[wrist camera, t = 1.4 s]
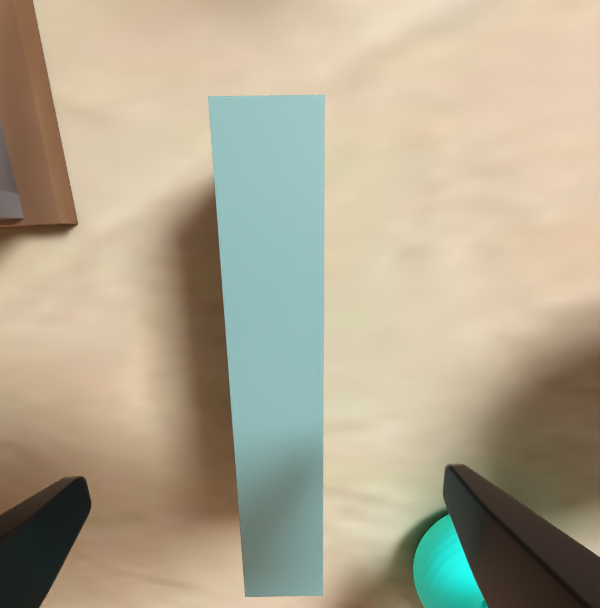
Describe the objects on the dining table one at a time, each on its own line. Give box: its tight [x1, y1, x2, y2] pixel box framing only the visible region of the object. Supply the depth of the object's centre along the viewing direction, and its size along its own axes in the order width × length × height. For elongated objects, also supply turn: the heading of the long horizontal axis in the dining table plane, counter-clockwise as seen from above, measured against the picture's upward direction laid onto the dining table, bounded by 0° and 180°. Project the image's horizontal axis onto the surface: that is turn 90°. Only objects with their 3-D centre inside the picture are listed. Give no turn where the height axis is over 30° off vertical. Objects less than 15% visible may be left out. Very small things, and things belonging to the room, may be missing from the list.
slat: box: [208, 95, 325, 597], centre depth 15 cm, size 4×20×7 cm, turn 1°
